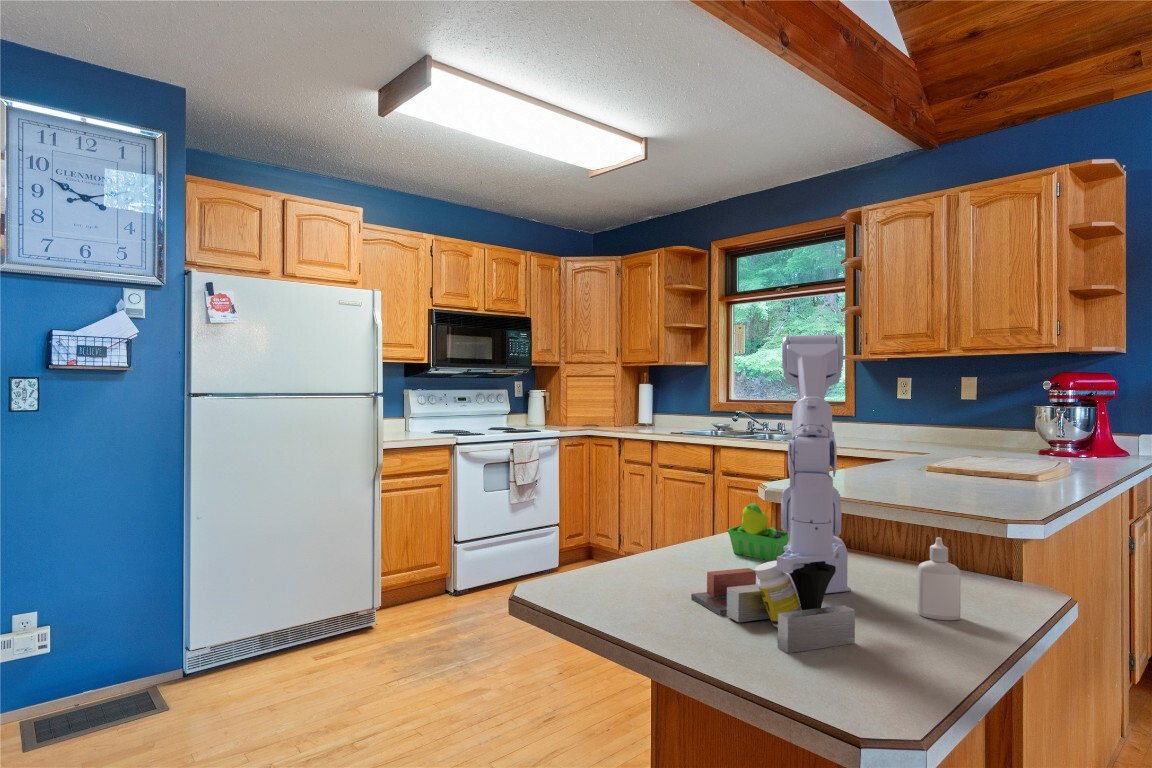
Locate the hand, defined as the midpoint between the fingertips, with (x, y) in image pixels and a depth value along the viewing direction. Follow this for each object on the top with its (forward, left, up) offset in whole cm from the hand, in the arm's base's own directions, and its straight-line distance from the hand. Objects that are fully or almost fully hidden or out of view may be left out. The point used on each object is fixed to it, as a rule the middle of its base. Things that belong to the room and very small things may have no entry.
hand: (810, 614), depth 93 cm
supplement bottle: (+3, -1, -1) cm, 3 cm away
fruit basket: (-18, -38, -2) cm, 42 cm away
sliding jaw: (+4, -10, -2) cm, 11 cm away
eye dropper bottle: (-22, +2, -2) cm, 23 cm away
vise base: (+4, -13, -2) cm, 13 cm away
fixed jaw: (+4, +5, -2) cm, 7 cm away
